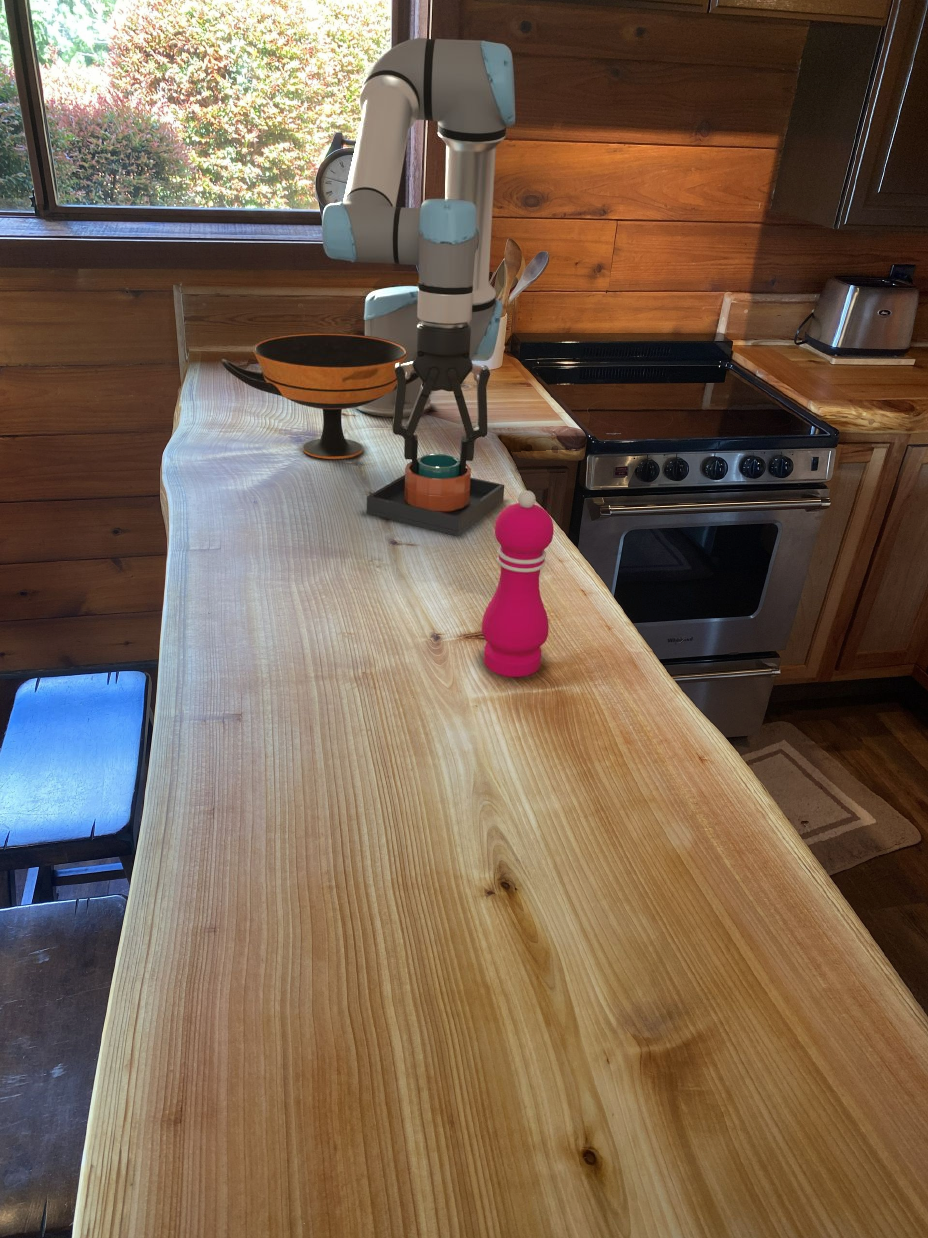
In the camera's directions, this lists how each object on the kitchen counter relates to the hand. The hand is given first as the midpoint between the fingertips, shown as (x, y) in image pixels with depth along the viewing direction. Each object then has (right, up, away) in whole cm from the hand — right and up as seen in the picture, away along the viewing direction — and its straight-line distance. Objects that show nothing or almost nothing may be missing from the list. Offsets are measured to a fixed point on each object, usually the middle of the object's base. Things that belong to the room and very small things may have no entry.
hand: (438, 479), depth 136 cm
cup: (-19, +9, +23) cm, 32 cm away
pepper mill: (+9, -26, -37) cm, 46 cm away
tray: (0, -4, +2) cm, 4 cm away
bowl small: (0, -1, +1) cm, 1 cm away
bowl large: (0, -3, +2) cm, 4 cm away
